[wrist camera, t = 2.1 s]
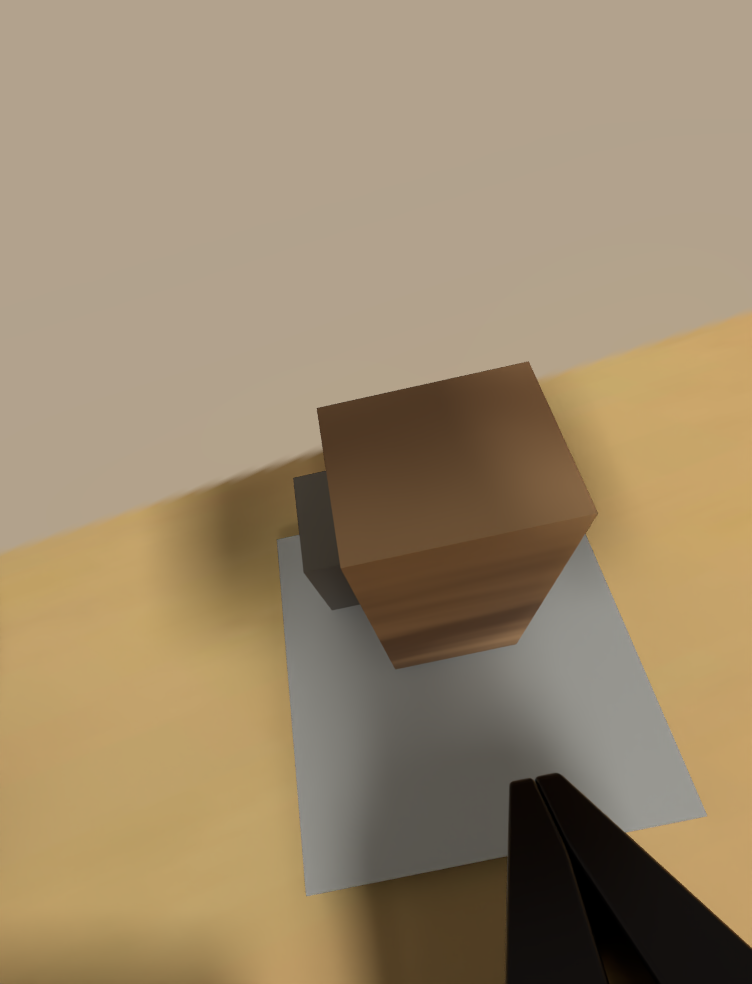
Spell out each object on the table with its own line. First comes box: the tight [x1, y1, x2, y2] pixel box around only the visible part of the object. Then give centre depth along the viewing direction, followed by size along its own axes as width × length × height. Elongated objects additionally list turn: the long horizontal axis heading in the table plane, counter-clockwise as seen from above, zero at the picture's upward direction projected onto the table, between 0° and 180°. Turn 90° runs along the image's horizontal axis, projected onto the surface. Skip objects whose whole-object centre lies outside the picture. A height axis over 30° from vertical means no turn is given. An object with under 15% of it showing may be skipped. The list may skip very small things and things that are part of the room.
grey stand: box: [277, 471, 707, 896], centre depth 18 cm, size 14×14×6 cm
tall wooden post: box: [317, 362, 598, 670], centre depth 15 cm, size 4×5×12 cm
